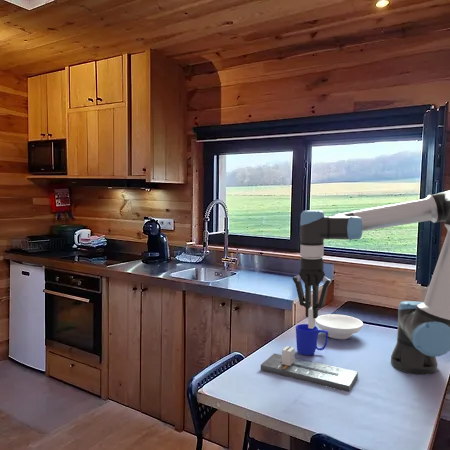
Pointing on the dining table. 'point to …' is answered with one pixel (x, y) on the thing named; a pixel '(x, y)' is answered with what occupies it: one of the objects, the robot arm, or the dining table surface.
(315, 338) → the mug
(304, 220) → the robot arm
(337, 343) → the dining table surface
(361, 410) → the dining table surface
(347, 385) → the console
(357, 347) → the dining table surface
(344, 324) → the bowl
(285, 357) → the block
